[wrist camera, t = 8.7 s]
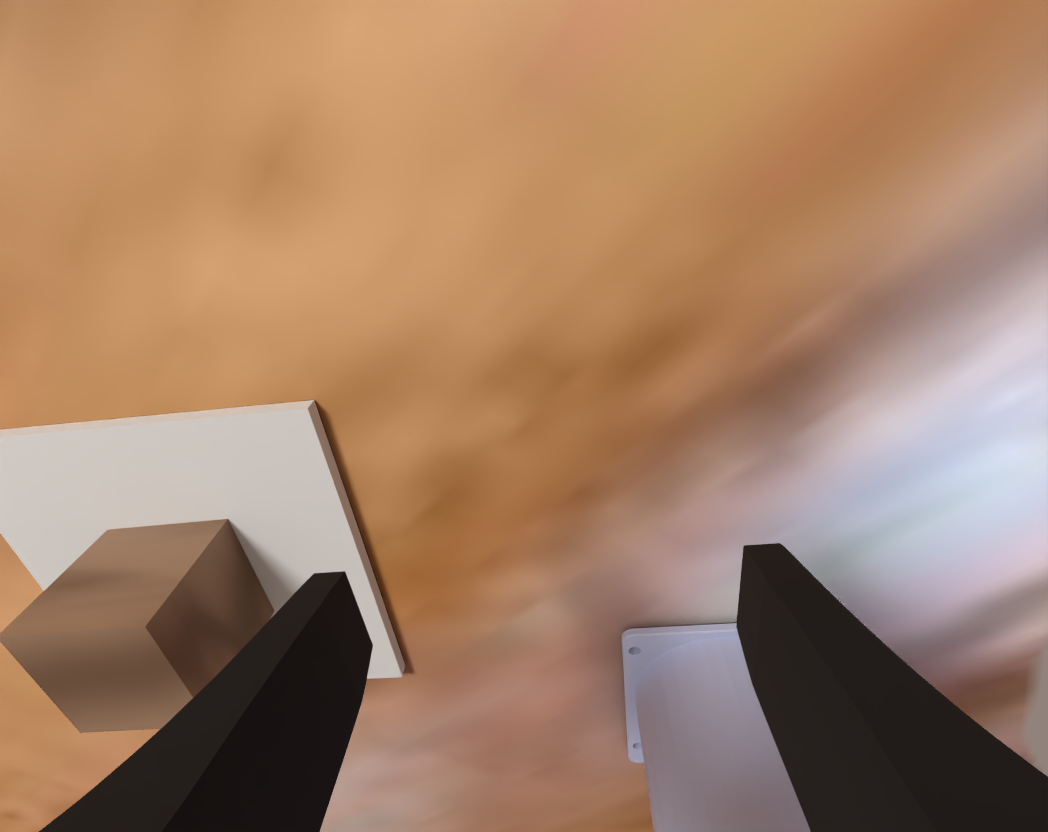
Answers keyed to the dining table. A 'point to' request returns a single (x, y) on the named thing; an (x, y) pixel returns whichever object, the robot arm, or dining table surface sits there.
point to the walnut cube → (140, 624)
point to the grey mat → (195, 497)
